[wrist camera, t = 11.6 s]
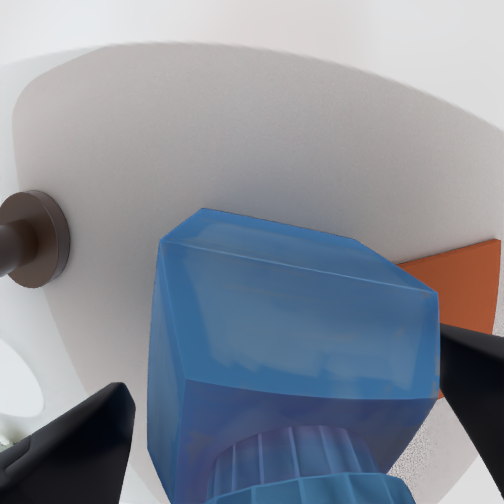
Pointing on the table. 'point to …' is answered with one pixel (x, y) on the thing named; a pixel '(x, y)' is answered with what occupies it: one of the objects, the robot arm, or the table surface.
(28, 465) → the robot arm
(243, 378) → the perfume bottle
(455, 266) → the terracotta mat
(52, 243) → the marker post
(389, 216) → the table surface
